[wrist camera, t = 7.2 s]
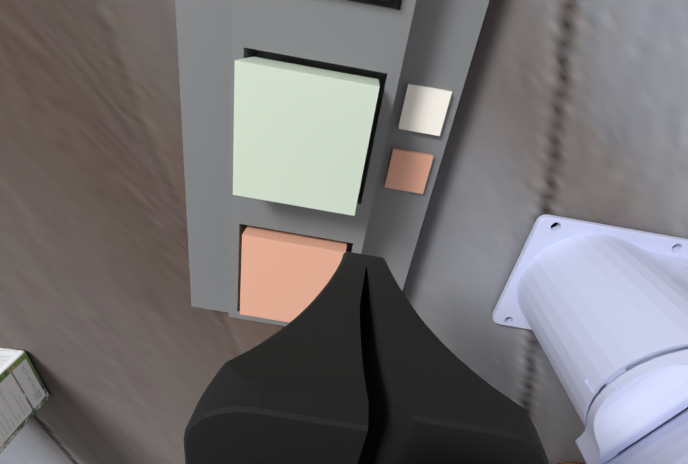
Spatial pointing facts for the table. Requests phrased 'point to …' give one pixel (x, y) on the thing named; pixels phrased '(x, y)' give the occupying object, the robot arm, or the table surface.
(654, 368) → the robot arm
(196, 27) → the stepped grey tray
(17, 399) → the syrup box
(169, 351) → the table surface
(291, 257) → the terracotta key
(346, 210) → the sage key
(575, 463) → the toy tea set
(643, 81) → the table surface
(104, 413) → the table surface
